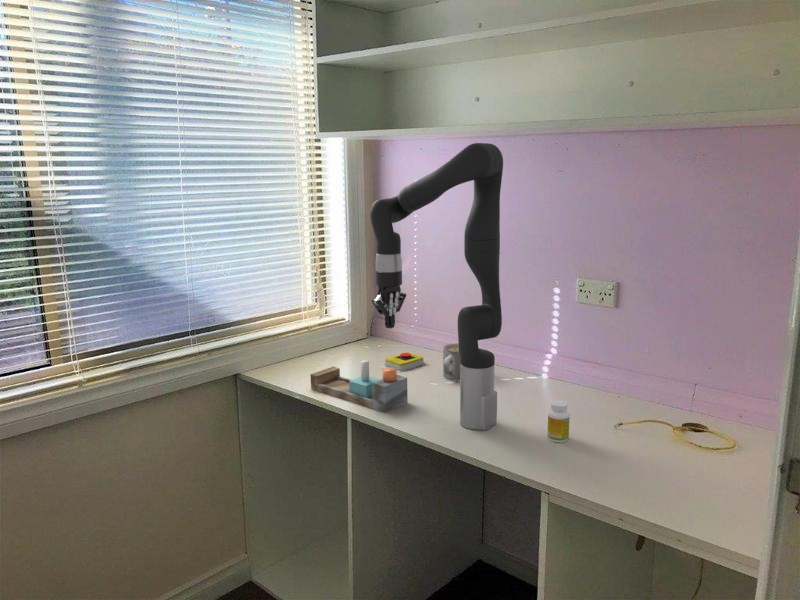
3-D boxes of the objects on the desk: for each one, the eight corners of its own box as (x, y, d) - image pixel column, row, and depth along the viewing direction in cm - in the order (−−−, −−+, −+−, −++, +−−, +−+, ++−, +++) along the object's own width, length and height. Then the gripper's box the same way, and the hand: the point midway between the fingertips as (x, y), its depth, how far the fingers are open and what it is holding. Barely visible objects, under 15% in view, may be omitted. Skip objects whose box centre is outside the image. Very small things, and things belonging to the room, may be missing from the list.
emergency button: (427, 353, 235) (396, 362, 225) (427, 364, 235) (396, 374, 226) (409, 347, 241) (378, 356, 231) (409, 359, 242) (379, 368, 232)
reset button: (399, 379, 194) (399, 369, 194) (390, 382, 191) (390, 372, 191) (389, 376, 197) (389, 366, 196) (380, 379, 194) (379, 370, 193)
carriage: (381, 392, 202) (381, 360, 200) (366, 398, 197) (365, 366, 195) (365, 387, 207) (364, 356, 204) (349, 393, 201) (348, 362, 199)
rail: (407, 402, 198) (407, 377, 196) (385, 412, 190) (384, 386, 189) (333, 380, 218) (332, 357, 217) (311, 389, 211) (309, 365, 209)
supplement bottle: (565, 444, 168) (566, 408, 166) (544, 440, 170) (545, 405, 168) (571, 436, 172) (572, 401, 170) (550, 432, 175) (552, 398, 173)
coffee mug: (456, 369, 228) (456, 341, 226) (478, 375, 221) (479, 347, 219) (430, 378, 219) (429, 349, 217) (452, 385, 212) (452, 355, 210)
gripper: (394, 264, 195) (395, 321, 199) (363, 270, 186) (365, 330, 189) (413, 267, 191) (414, 325, 194) (383, 273, 181) (384, 334, 185)
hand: (389, 327), depth 192 cm, fingers closed
